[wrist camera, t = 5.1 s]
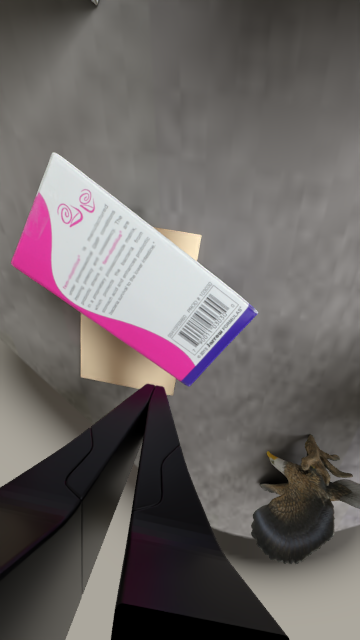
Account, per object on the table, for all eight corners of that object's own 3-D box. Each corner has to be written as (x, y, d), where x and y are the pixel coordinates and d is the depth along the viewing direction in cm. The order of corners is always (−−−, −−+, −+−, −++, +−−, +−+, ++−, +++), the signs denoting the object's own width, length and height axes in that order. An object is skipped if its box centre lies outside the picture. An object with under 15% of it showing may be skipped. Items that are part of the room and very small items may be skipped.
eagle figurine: (257, 426, 17) (228, 508, 18) (361, 514, 11) (306, 630, 12) (299, 416, 21) (272, 484, 22) (390, 476, 15) (348, 566, 16)
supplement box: (235, 292, 14) (110, 192, 13) (262, 313, 9) (45, 140, 7) (190, 345, 16) (74, 262, 15) (187, 391, 10) (-1, 263, 9)
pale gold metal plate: (201, 235, 14) (201, 235, 13) (173, 392, 18) (172, 395, 17) (83, 216, 14) (80, 215, 14) (83, 374, 18) (80, 377, 18)
